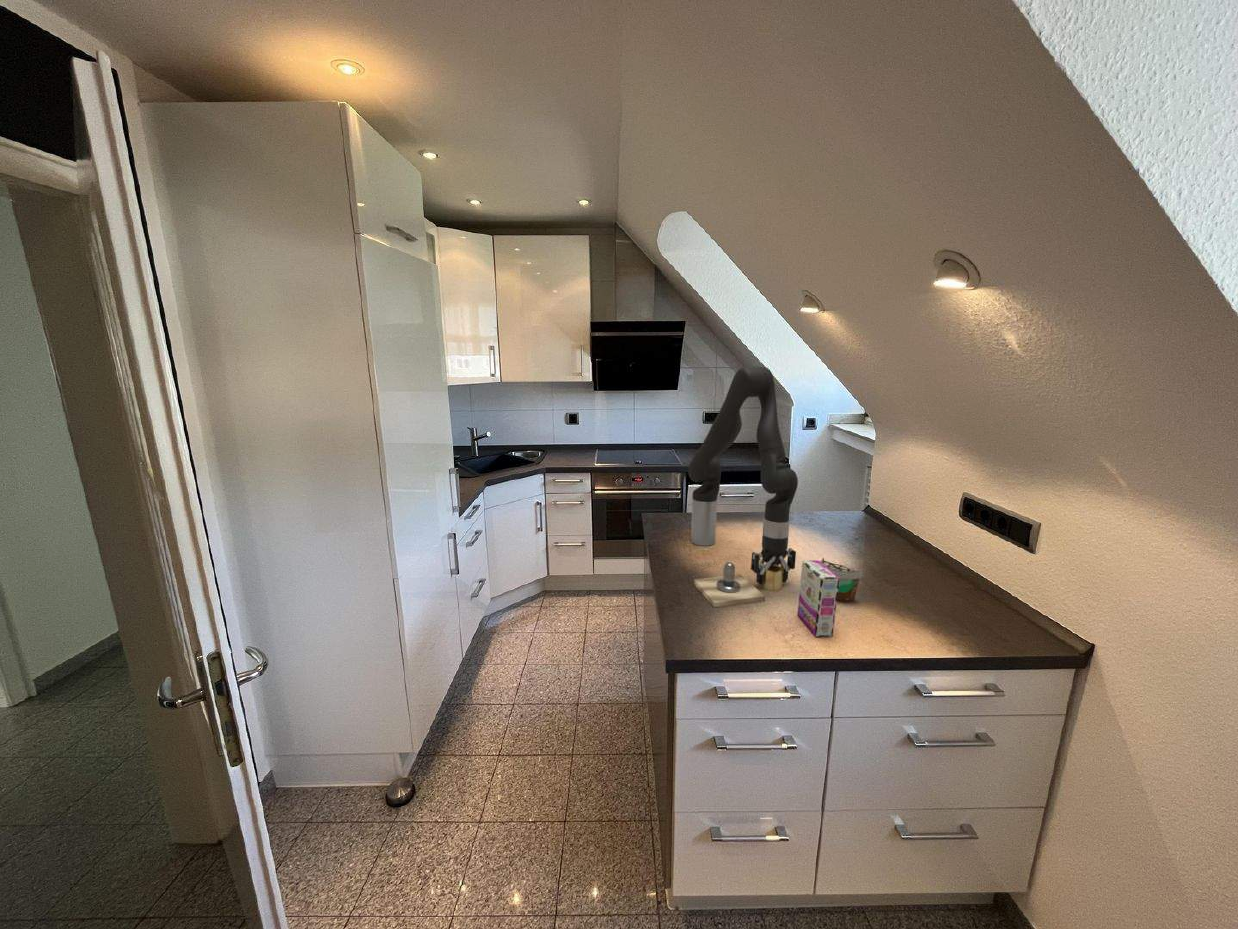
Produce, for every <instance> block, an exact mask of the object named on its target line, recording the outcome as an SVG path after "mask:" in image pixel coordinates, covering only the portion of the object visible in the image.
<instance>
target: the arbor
mask: <svg viewBox="0 0 1238 929" xmlns="http://www.w3.org/2000/svg"><path fill="white" fill-rule="evenodd" d="M735 571H736V567H735V564H734V563H732V562H731V561H729V562H726V563H724V566H723V575H722V576H723V580H719V581H718V582H717V589H718V590H720V591H722V592H725V593H736V592H738V591H740V584H739V583H738V582H736V581H734V575H736V574H735Z"/></svg>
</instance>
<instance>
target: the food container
mask: <svg viewBox="0 0 1238 929" xmlns="http://www.w3.org/2000/svg"><path fill="white" fill-rule="evenodd" d="M820 562H821V563H822V564H824V565H825V566H826V567H827V568H828V569H829V570H831V571H832V572H833V573H834V574H835V575H836V576H838V577H839V578H840V579H839V586H838V595H837V602H839V603H851V602H853V601H855V598H856V595H857V591H858V587H859V582H860V579H861V578H863V572H862V569H860V570H854V569H851V568H848V567H847V566H844V565H842V564H836V563H832V562H829V561H827V560H825V557H823V558H821V560H820Z"/></svg>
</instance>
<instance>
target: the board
mask: <svg viewBox="0 0 1238 929" xmlns="http://www.w3.org/2000/svg"><path fill="white" fill-rule="evenodd" d="M723 576H724V575H722V576H714V577H706V578H697V579H696V578H695V579H693V585H694V586H695V587H696V589H697V590H699V592H700V593H701V594H702V595H703V596H704V597H705V599H706V600H707V601H708V602H709V604H711V606H712V607H713V608H720V607H728V606H729V607H730V606H736V605H745V604H751V603H753V604H754V603H760V602H765V601H766V595H764V594H763V593H762V592H761V591H760V590H759V589H758V588H756V587H755V585H753V584H752V583H751V582H750V581H749V579H747V578H745V576H743V575H742V574H741V573H739V574H735V575H734V581H736V582H738V583H739V584H740V591H738V592H736V593H725V592H722V591H720V590H718V589H717V582H718V581H719V580H723Z"/></svg>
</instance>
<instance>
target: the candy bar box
mask: <svg viewBox="0 0 1238 929" xmlns="http://www.w3.org/2000/svg"><path fill="white" fill-rule="evenodd" d="M800 574H801V575H800V587H799V593H798V594H799V595H798V605H797V616H798V618H799V619H800V620H801V622H802V623H803V624H804V625H805V626H806V627H807V629H808V630H809V631H810V632H811V634H813V635H814V637H815V638H830V637H831V638H832V637H834V628H835V618H836V610H837V595H838V586H839V579H840V578H839V577H838V576H836V575H835V574H834V573H833V572H832V571H831V570H829V569H828V568H827V567H826V566H825V565H824V564H822V563H821V560H802V566H801V573H800Z"/></svg>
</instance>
